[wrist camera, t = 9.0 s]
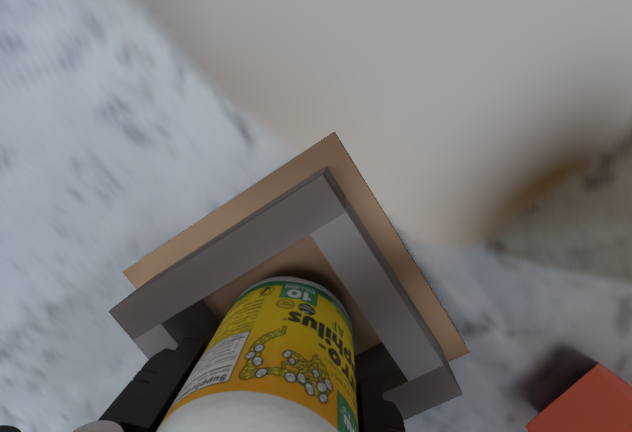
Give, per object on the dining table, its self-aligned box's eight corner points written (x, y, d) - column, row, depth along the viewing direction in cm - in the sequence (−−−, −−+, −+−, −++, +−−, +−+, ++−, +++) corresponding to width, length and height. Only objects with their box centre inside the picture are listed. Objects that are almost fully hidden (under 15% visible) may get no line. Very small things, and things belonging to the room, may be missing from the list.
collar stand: (458, 333, 17) (498, 402, 13) (270, 423, 19) (249, 508, 15) (334, 131, 15) (331, 132, 11) (140, 260, 17) (73, 303, 13)
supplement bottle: (206, 314, 15) (-32, 635, 5) (301, 247, 13) (213, 503, 4) (282, 399, 15) (191, 808, 6) (378, 343, 14) (445, 735, 5)
